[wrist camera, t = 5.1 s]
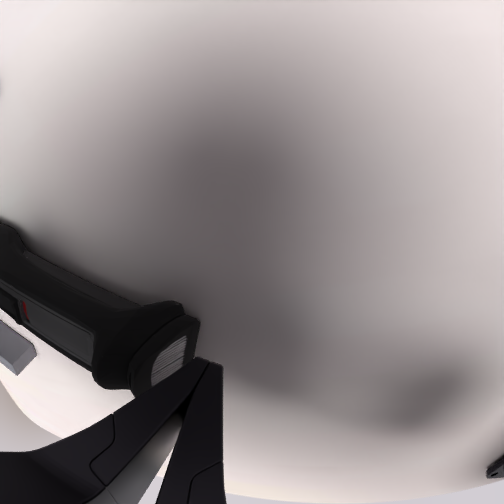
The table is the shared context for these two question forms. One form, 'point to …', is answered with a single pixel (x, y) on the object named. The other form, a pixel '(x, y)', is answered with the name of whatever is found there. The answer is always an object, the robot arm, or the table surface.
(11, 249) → the electric trimmer
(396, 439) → the table surface
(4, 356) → the charging dock
